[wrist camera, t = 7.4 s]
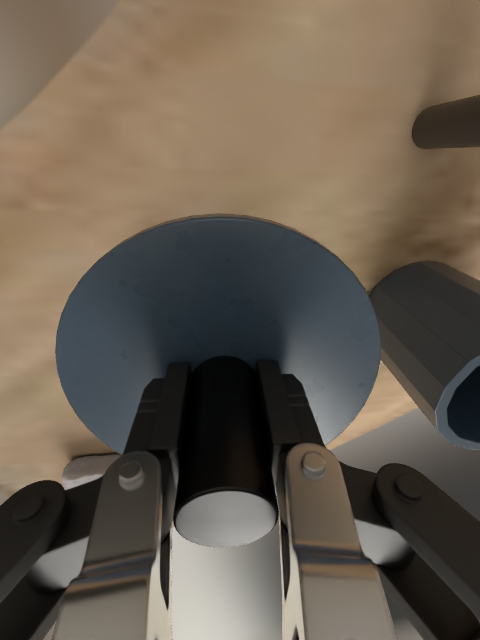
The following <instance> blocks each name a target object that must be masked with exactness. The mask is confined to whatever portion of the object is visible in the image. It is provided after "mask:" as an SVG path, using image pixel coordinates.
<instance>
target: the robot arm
mask: <svg viewBox="0 0 480 640" xmlns="http://www.w3.org/2000/svg"><path fill="white" fill-rule="evenodd" d="M256 379H257V385H258V391H259V397H260V403H261V409H262V415H263V421H264V427H265V433H266V439H267V445H268V451H269V457H270V463H271V469H272V475H273V481H274V487H275V493H276V497H278V503H279V509H280V515H279V536H280V557H281V578H282V599H283V600H282V602H283V617H282V640H398V639H397V636H396V632H395V629H394V625H393V621H392V618H391V614H390V611H389V607H388V604H387V601H386V597H385V593H384V590H385V591H386V592H387V594H388V595H389V596H390V597H391V598H392V600H393V601H394V602H395V604H396V605H397V606H398V608H399V609H400V610H401V611H402V613H403V614H404V615H405V616H406V618H407V619H408V620H409V621H410V623H411V624H412V625H413V627H414V628H415V629H416V630H417V632H418V633H419V634H420V635H421V637H422V638H423V639H424V640H480V522H479V521H478V520H477V519H476V518H475V517H473V516H472V515H471V514H470V513H469V512H467V511H466V510H465V509H464V508H462V507H461V506H460V505H459V504H458V503H457V502H455V501H454V500H453V499H451V497H449V496H448V495H447V494H446V493H445V492H443V491H442V490H441V489H440V488H438V487H437V486H436V485H435V484H434V483H432V482H431V481H430V480H429V479H428V478H427V477H425V476H424V475H423V474H422V473H420V472H419V471H417V470H415V469H413V468H411V467H409V466H406V465H403V464H397V463H392V464H387V465H384V466H382V467H381V468H380V469H379V471H378V472H377V473H373V472H369V471H365V470H361V469H357V468H354V467H350V466H348V465H346V464H343V463H341V462H340V461H338V460H337V458H336V457H335V455H334V454H333V453H332V452H331V451H329V450H328V449H327V448H326V447H325V445H324V443H323V440H322V437H321V435H320V432H319V429H318V426H317V423H316V421H315V418H314V415H313V412H312V410H311V407H310V406H309V401H308V399H307V397H306V393H305V390H304V388H303V385H302V383H301V382H300V381H299V380H298V379H297V378H296V377H295V376H294V375H293V374H281V370H280V367H279V363H278V361H277V360H262V361H257V363H256ZM190 384H191V366H190V363H169V364H168V367H167V371H166V375H165V378H153V379H152V380H151V382H150V383H149V384H148V385H147V386H146V387H145V388H144V390H143V393H142V397H141V400H140V403H139V406H138V409H137V413H136V415H135V418H134V421H133V424H132V427H131V430H130V433H129V436H128V440H127V443H126V446H125V449H124V452H123V454H122V456H121V457H119V458H118V459H116V460H115V461H114V462H113V463H112V464H111V465H110V466H109V467H108V469H107V470H106V472H105V474H104V475H103V476H101V477H100V478H98V479H96V480H93V481H91V482H88V483H85V484H82V485H79V486H76V487H73V488H70V489H67V490H64V488H63V487H62V485H61V484H59V483H58V482H56V481H51V480H43V481H38V482H35V483H32V484H30V485H27V486H26V487H24V488H22V489H20V490H19V491H17V492H16V493H15V494H13V495H12V496H11V497H10V498H9V499H8V500H7V501H5V502H4V503H3V504H2V505H1V506H0V640H43V639H44V637H45V636H46V634H47V633H48V632H49V630H50V629H51V627H52V626H53V625H54V623H55V622H56V625H55V629H54V632H53V636H52V640H173V632H172V619H171V587H172V584H171V583H172V581H171V580H172V521H173V513H174V505H175V499H176V491H177V483H178V475H179V469H180V462H181V454H182V446H183V438H184V430H185V423H186V415H187V407H188V399H189V392H190ZM56 620H57V621H56Z"/></svg>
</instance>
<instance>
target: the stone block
mask: <svg viewBox="0 0 480 640" xmlns="http://www.w3.org/2000/svg"><path fill="white" fill-rule="evenodd" d="M121 456H122V455H121V454H109V455H104V456H85V457H81V458H77V459H73V460H72V461H71V462H70V463H69V464H67V466H66V467H65V468H64V471H63V474H62V482H63V485H64V486H65V489H66V490H67V489H70V488H73V487H76V486H79V485H82V484H85V483H88V482H91V481H93V480H96V479H98V478H100V477H101V476H103V475H104V474H105V472H106V470H107V469H108V467H109V466H110V465H111V464H112V463H113V462H114V461H115V460H116V459H118V458H119V457H121Z"/></svg>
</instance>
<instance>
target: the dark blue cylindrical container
mask: <svg viewBox="0 0 480 640" xmlns="http://www.w3.org/2000/svg"><path fill="white" fill-rule="evenodd" d="M369 298H370V300H371V302H372V304H373V306H374V309H375V313H376V316H377V320H378V323H379V329H380V338H381V356H380V359H381V360H382V361H383V363H384V364H385V365H386V366H387V368H388V369H389V370H390V371H391V373H392V374H393V375H394V376H395V378H396V379H397V380H398V382H399V383H400V384H401V385H402V387H403V388H404V389H405V390H406V392H407V393H408V394H409V396H410V397H411V398H412V399H413V401H414V402H415V403H416V404H417V406H418V407H419V408H420V409H421V411H422V412H423V413H424V414H425V416H426V417H427V418H428V420H429V421H430V422H431V423H432V425H433V426H434V427H435V428H436V430H437V431H438V432H439V433H440V434H441V435H442V436H443V437H444V438H445V439H446V440H447V441H448V442H449V443H450V444H453V445H456V446H460V447H463V448H467V449H470V450H475V449H480V281H479V280H477V279H475V278H473V277H471V276H469V275H466V274H464V273H462V272H460V271H458V270H456V269H454V268H452V267H450V266H448V265H445V264H443V263H438V262H429V261H427V262H418V263H413V264H410V265H407V266H404V267H402V268H400V269H398V270H396V271H394V272H392V273H391V274H389V275H388V276H387V277H385V278H384V279H383V280H382V281H381V282H380V283H379V284H378V285H377V286H376V287H375V288H374V289H373V291H372V292H371V293H370V295H369Z"/></svg>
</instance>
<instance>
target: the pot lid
mask: <svg viewBox="0 0 480 640" xmlns="http://www.w3.org/2000/svg"><path fill="white" fill-rule="evenodd" d="M55 353H56V363H57V371H58V375H59V378H60V382H61V386H62V388H63V391H64V393H65V395H66V397H67V399H68V402H69V403H70V405H71V407H72V408H73V410H74V411H75V413H76V414H77V416H78V417H79V419H80V420H81V421H82V422H83V423H84V424H85V426H86V427H87V428H88V429H89V430H90V431H91V432H92V433H93V434H94V435H95V436H96V437H97V438H99V439H100V440H101V441H102V442H103V443H105V444H106V445H107V446H109V447H110V448H112V449H113V450H114V451H116V452H118V453H119V454H121V455H122V454H123V452H124V449H125V446H126V443H127V440H128V436H129V433H130V430H131V427H132V424H133V421H134V418H135V415H136V413H137V409H138V406H139V403H140V400H141V397H142V393H143V390H144V388H145V387H146V386H147V385H148V384H149V383H150V382H151V380H152V379H153V378H165V375H166V371H167V367H168V364H169V363H190V366H191V384H190V392H189V399H188V407H187V415H186V423H185V430H184V438H183V446H182V454H181V462H180V469H179V475H178V483H177V491H176V499H175V506H174V514H173V522H174V526H175V528H176V530H177V531H178V533H179V534H180V535H181V536H182V537H184V538H185V539H187V540H189V541H191V542H193V543H196V544H199V545H202V546H208V547H218V548H222V547H223V548H224V547H235V546H241V545H245V544H248V543H251V542H254V541H256V540H258V539H260V538H262V537H264V536H265V535H267V534H268V533H269V532H270V531H271V530H272V529H273V528H274V526H275V525H276V523H277V520H278V515H279V514H278V513H279V511H278V505H277V499H276V493H275V487H274V481H273V475H272V469H271V463H270V457H269V451H268V445H267V439H266V433H265V427H264V421H263V415H262V409H261V403H260V397H259V391H258V385H257V379H256V363H257V361H262V360H277V361H278V363H279V367H280V370H281V374H293V375H294V376H295V377H296V378H297V379H298V380H299V381H300V382H301V383H302V385H303V388H304V390H305V393H306V397H307V399H308V401H309V406H310V407H311V410H312V412H313V415H314V418H315V421H316V423H317V426H318V429H319V432H320V435H321V437H322V440H323V443H324V445H325V446H326V445H327V444H328V443H330V442H331V441H333V440H334V439H335V438H336V437H337V436H338V435H339V434H340V433H342V432H343V431H344V430H345V429H346V428H347V426H348V425H349V424H350V423H351V422H352V421H353V420H354V419H355V417H356V416H357V415H358V413H359V412H360V410H361V409H362V407H363V406H364V404H365V402H366V401H367V399H368V397H369V395H370V393H371V391H372V388H373V386H374V383H375V380H376V377H377V374H378V369H379V364H380V356H381V338H380V329H379V323H378V320H377V316H376V313H375V309H374V306H373V304H372V302H371V300H370V298H369V296H368V294H367V292H366V290H365V288H364V287H363V285H362V284H361V283H360V281H359V280H358V278H357V277H356V276H355V274H354V273H353V272H352V271H351V270H350V269H349V268H348V267H347V266H346V265H345V264H344V263H343V262H342V261H341V260H340V259H339V258H338V257H337V256H336V255H335V254H334V253H332V252H331V251H330V250H328V249H327V248H326V247H324V246H323V245H322V244H320V243H319V242H317V241H316V240H315V239H313V238H311V237H309V236H307V235H305V234H303V233H301V232H299V231H298V230H296V229H294V228H291V227H288V226H285V225H282V224H280V223H277V222H274V221H271V220H267V219H262V218H257V217H252V216H247V215H235V214H207V215H193V216H189V217H184V218H179V219H175V220H170V221H166V222H164V223H161V224H158V225H155V226H153V227H150V228H147V229H145V230H142V231H141V232H139V233H137V234H135V235H133V236H131V237H130V238H128V239H126V240H124V241H122V242H121V243H120V244H118V245H117V246H116V247H114V248H113V249H112V250H110V251H109V252H108V253H106V254H105V255H104V256H103V257H101V258H100V259H99V260H98V261H97V262H96V263H95V264H94V265H93V266H92V267H91V268H90V269H89V270H88V271H87V272H86V274H85V275H84V276H83V277H82V278H81V279H80V281H79V282H78V284H77V285H76V287H75V288H74V290H73V291H72V293H71V294H70V296H69V298H68V300H67V303H66V305H65V307H64V309H63V312H62V314H61V318H60V322H59V326H58V330H57V336H56V351H55Z"/></svg>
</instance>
